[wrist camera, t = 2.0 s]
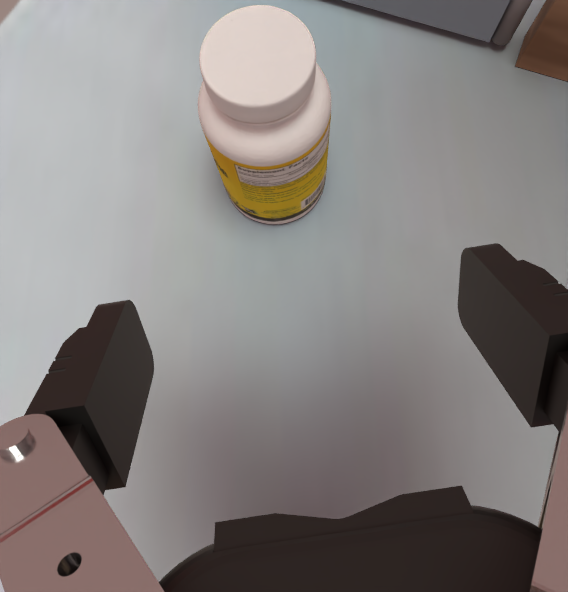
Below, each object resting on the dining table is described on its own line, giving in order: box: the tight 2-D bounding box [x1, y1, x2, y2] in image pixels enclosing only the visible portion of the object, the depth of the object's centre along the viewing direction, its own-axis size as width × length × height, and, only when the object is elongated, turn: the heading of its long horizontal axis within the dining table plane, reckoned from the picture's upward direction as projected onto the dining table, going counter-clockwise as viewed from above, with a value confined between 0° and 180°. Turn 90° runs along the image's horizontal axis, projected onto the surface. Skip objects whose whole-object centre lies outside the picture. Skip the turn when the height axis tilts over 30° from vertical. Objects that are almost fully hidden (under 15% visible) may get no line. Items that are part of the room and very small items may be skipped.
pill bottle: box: [198, 5, 331, 224], centre depth 24 cm, size 6×6×11 cm
